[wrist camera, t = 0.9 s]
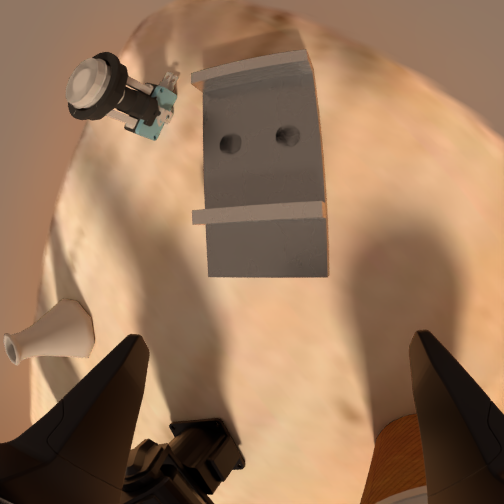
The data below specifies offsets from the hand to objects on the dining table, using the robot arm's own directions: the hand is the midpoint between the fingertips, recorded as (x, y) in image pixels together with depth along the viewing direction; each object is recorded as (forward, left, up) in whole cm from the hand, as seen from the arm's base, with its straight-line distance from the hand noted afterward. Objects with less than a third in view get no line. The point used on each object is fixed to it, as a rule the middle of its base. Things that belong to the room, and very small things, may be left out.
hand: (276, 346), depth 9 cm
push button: (-7, +19, -14) cm, 25 cm away
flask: (-28, +3, -14) cm, 32 cm away
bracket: (-1, +9, -14) cm, 16 cm away
